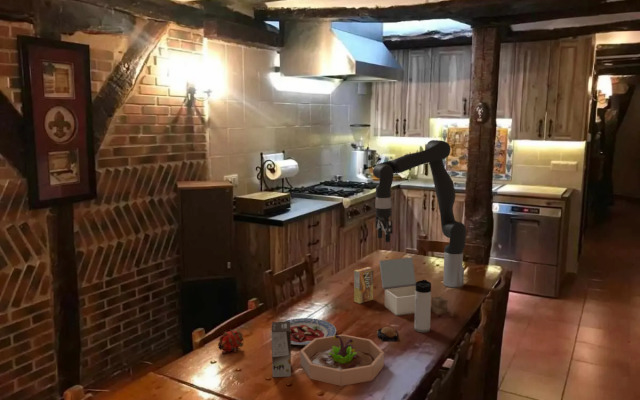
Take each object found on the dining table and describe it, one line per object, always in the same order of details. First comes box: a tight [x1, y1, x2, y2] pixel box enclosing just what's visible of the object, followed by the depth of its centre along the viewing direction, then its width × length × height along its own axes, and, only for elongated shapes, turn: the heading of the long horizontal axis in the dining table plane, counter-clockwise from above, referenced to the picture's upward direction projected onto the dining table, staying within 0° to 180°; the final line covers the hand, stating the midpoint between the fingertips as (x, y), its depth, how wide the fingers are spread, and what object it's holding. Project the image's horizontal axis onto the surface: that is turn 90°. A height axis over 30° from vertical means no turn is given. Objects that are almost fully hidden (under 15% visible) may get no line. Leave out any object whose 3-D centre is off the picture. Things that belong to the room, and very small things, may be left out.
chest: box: [384, 286, 416, 316], centre depth 239 cm, size 16×12×8 cm
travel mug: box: [413, 279, 432, 333], centre depth 215 cm, size 6×7×20 cm
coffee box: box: [271, 320, 292, 378], centre depth 181 cm, size 9×6×16 cm
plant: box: [311, 334, 374, 370], centre depth 186 cm, size 20×20×11 cm
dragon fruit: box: [217, 329, 245, 354], centre depth 198 cm, size 8×8×12 cm
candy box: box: [353, 266, 374, 304], centre depth 249 cm, size 9×4×15 cm, turn 129°
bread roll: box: [376, 326, 400, 343], centre depth 211 cm, size 11×8×4 cm
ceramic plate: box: [270, 317, 337, 346], centre depth 212 cm, size 26×26×3 cm
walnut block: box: [431, 295, 449, 315], centre depth 236 cm, size 5×5×6 cm
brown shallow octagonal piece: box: [300, 333, 385, 387], centre depth 186 cm, size 27×27×5 cm
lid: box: [378, 257, 417, 290], centre depth 246 cm, size 17×13×1 cm
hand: (383, 240), depth 253 cm, fingers open, 8 cm apart
